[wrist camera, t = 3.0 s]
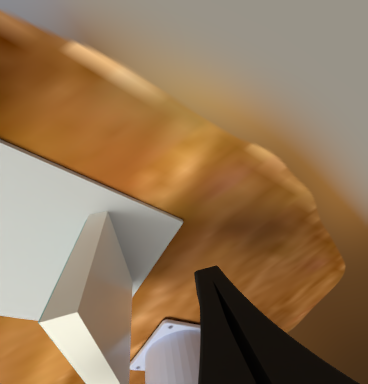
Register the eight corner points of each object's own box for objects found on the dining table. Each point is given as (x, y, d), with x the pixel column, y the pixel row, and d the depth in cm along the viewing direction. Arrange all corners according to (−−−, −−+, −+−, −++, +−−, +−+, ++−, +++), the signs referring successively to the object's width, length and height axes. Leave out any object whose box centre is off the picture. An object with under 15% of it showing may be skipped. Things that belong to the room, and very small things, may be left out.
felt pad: (182, 219, 15) (183, 222, 14) (110, 325, 18) (109, 330, 17) (-26, 127, 10) (-33, 128, 9) (-76, 298, 13) (-83, 304, 12)
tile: (107, 210, 13) (77, 312, 6) (132, 281, 16) (128, 397, 9) (86, 215, 12) (32, 324, 6) (115, 286, 15) (99, 408, 9)
